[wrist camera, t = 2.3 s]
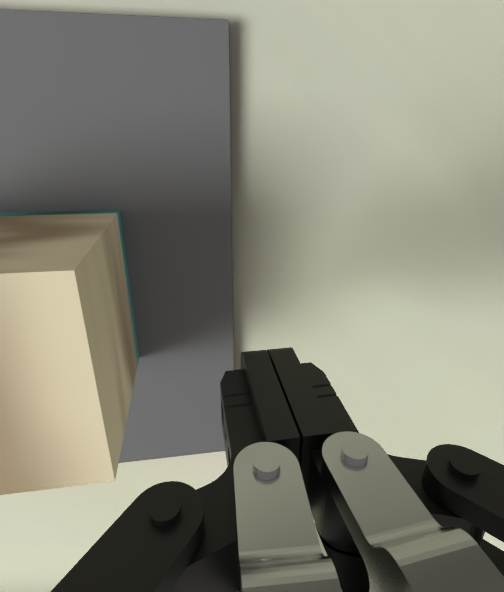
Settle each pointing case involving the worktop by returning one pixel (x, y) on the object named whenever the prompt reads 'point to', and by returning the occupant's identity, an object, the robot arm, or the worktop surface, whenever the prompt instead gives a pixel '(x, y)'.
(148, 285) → the rubber mat
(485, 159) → the worktop surface
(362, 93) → the worktop surface
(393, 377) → the worktop surface
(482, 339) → the worktop surface
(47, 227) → the birch cube
